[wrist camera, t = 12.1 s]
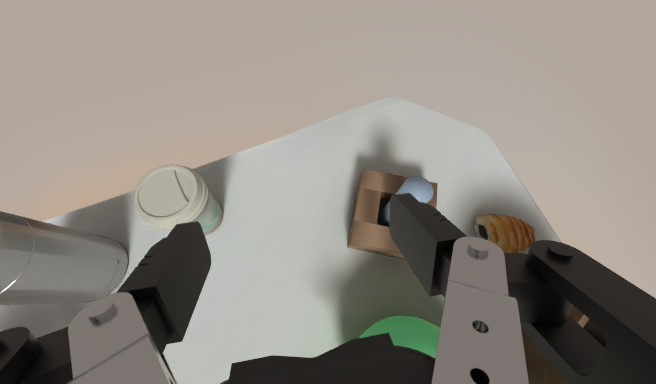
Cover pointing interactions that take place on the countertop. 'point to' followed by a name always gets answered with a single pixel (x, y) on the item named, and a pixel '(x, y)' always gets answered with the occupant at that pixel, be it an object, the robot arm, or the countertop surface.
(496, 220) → the pastry
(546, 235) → the countertop surface
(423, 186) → the dowel
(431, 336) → the green round piece
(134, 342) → the robot arm
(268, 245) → the countertop surface
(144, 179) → the coffee cup
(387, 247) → the socket block
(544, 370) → the plant pot
